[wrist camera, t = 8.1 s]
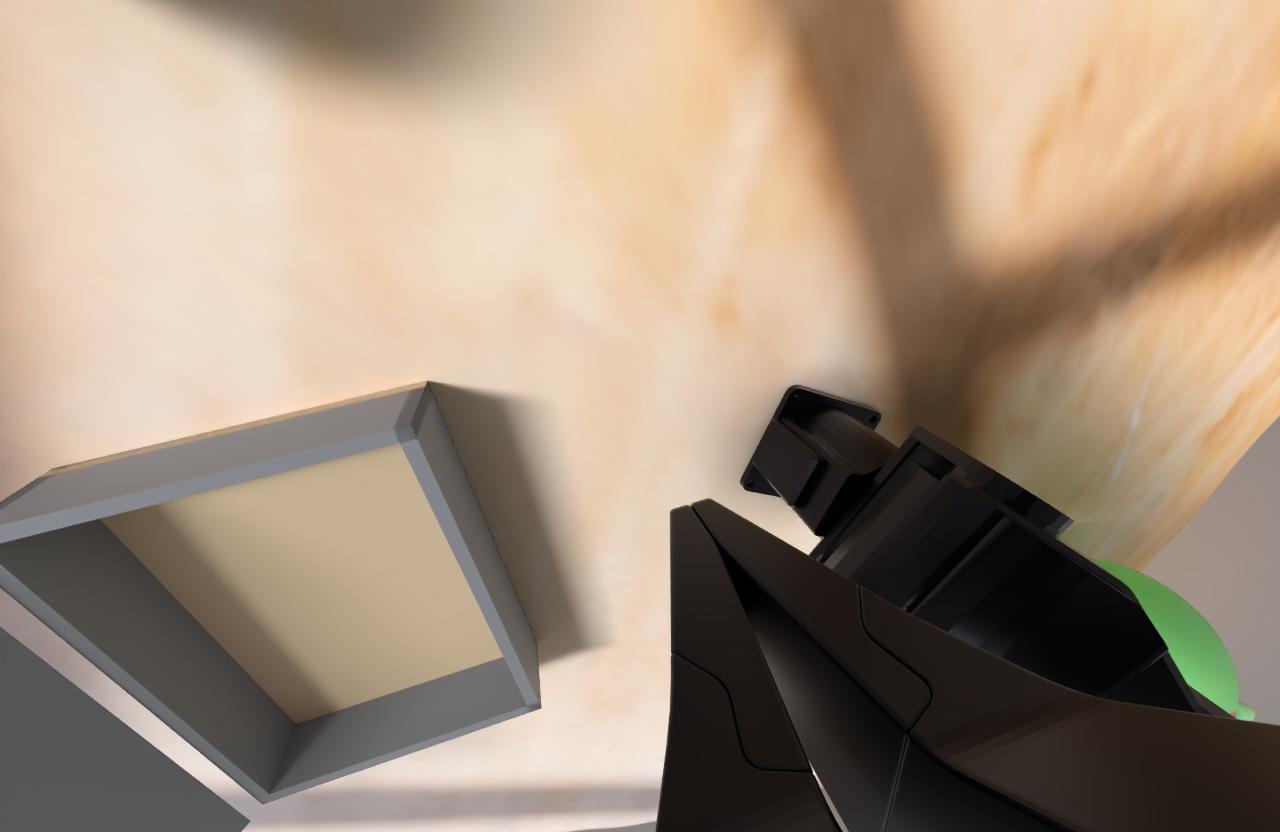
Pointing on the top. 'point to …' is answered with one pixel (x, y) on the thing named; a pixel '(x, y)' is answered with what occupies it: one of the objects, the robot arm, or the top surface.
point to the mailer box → (284, 588)
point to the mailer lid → (87, 763)
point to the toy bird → (1187, 640)
